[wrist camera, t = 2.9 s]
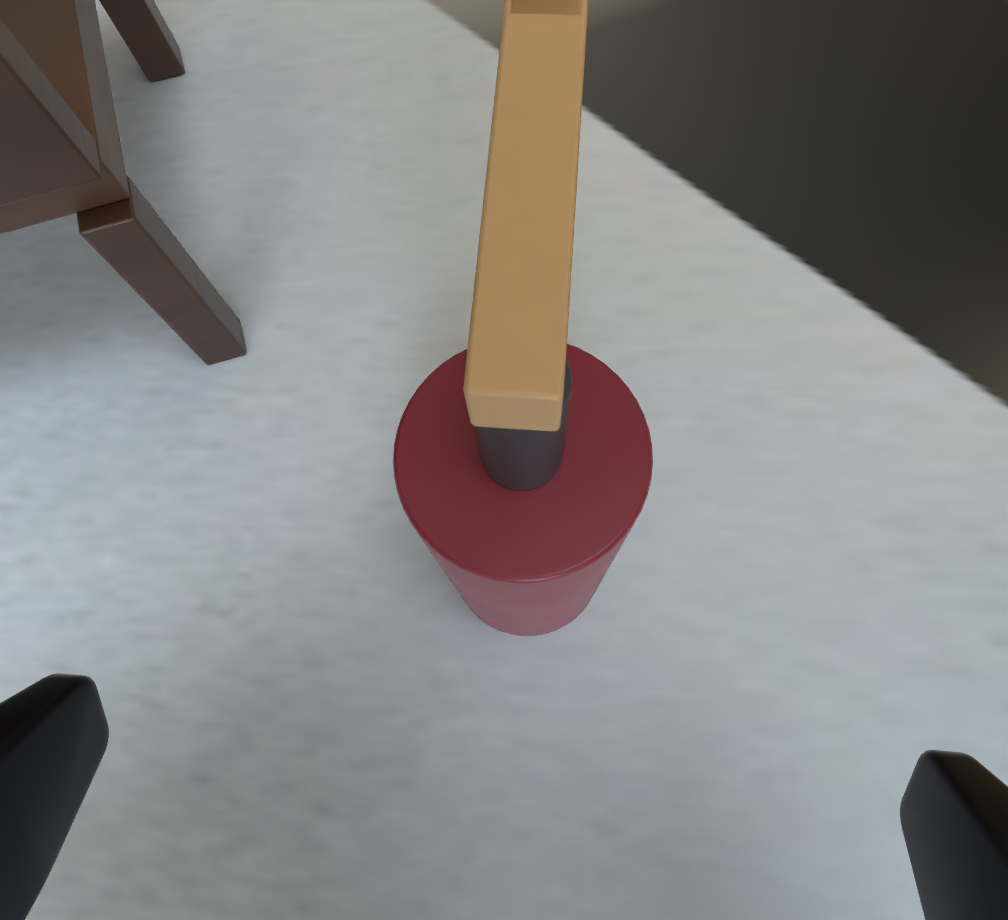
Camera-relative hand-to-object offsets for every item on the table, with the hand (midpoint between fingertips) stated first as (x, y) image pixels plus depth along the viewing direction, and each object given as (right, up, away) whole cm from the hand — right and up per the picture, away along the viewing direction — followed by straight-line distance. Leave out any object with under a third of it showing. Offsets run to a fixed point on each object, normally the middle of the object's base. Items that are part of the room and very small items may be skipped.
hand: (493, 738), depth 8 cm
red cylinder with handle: (+1, +2, +12) cm, 12 cm away
